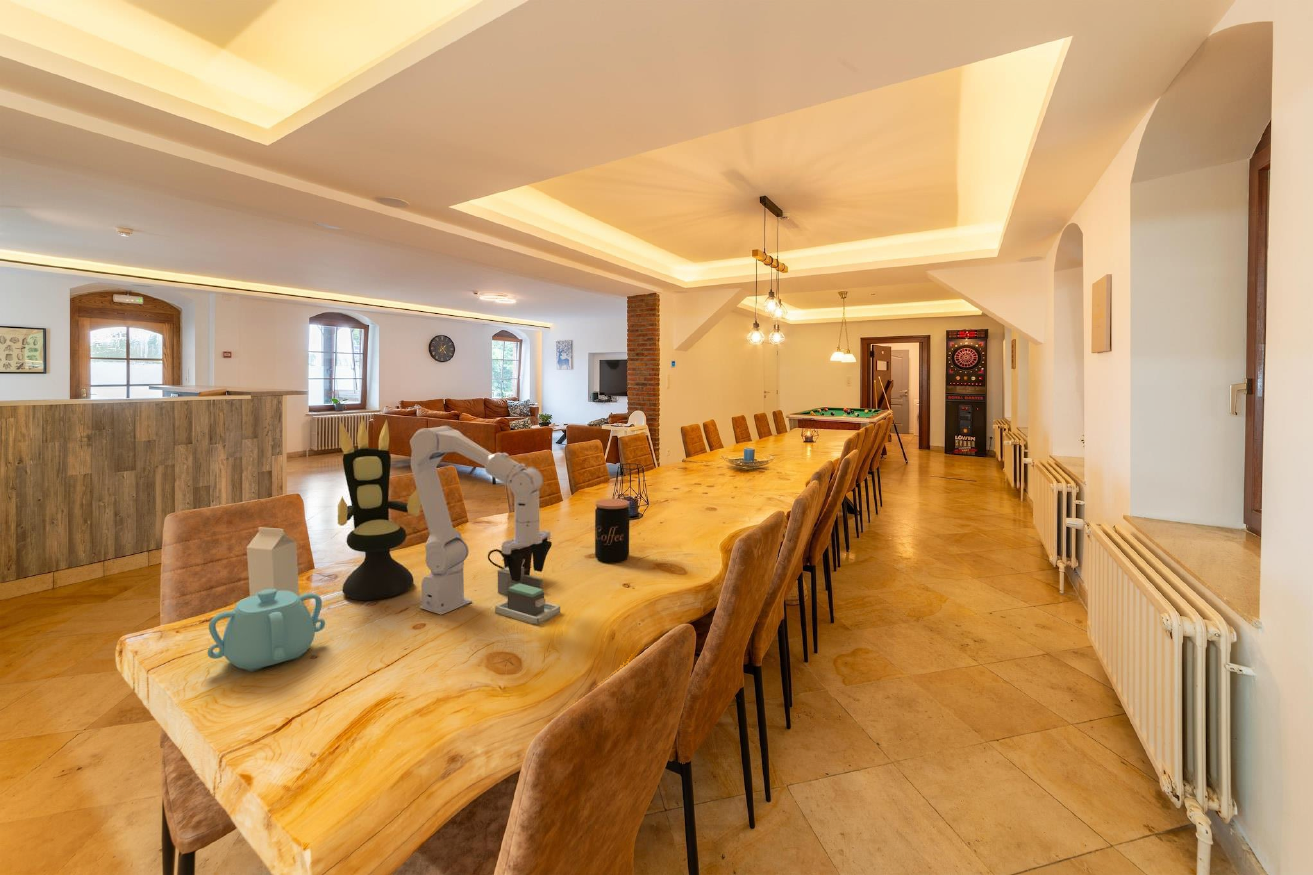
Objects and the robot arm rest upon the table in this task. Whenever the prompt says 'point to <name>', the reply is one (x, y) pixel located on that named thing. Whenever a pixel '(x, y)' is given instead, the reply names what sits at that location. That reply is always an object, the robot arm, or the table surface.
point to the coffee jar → (612, 530)
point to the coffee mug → (526, 559)
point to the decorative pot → (266, 629)
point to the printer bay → (507, 582)
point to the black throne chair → (373, 518)
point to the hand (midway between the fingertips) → (527, 575)
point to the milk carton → (272, 562)
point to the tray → (548, 613)
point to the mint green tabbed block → (526, 599)
